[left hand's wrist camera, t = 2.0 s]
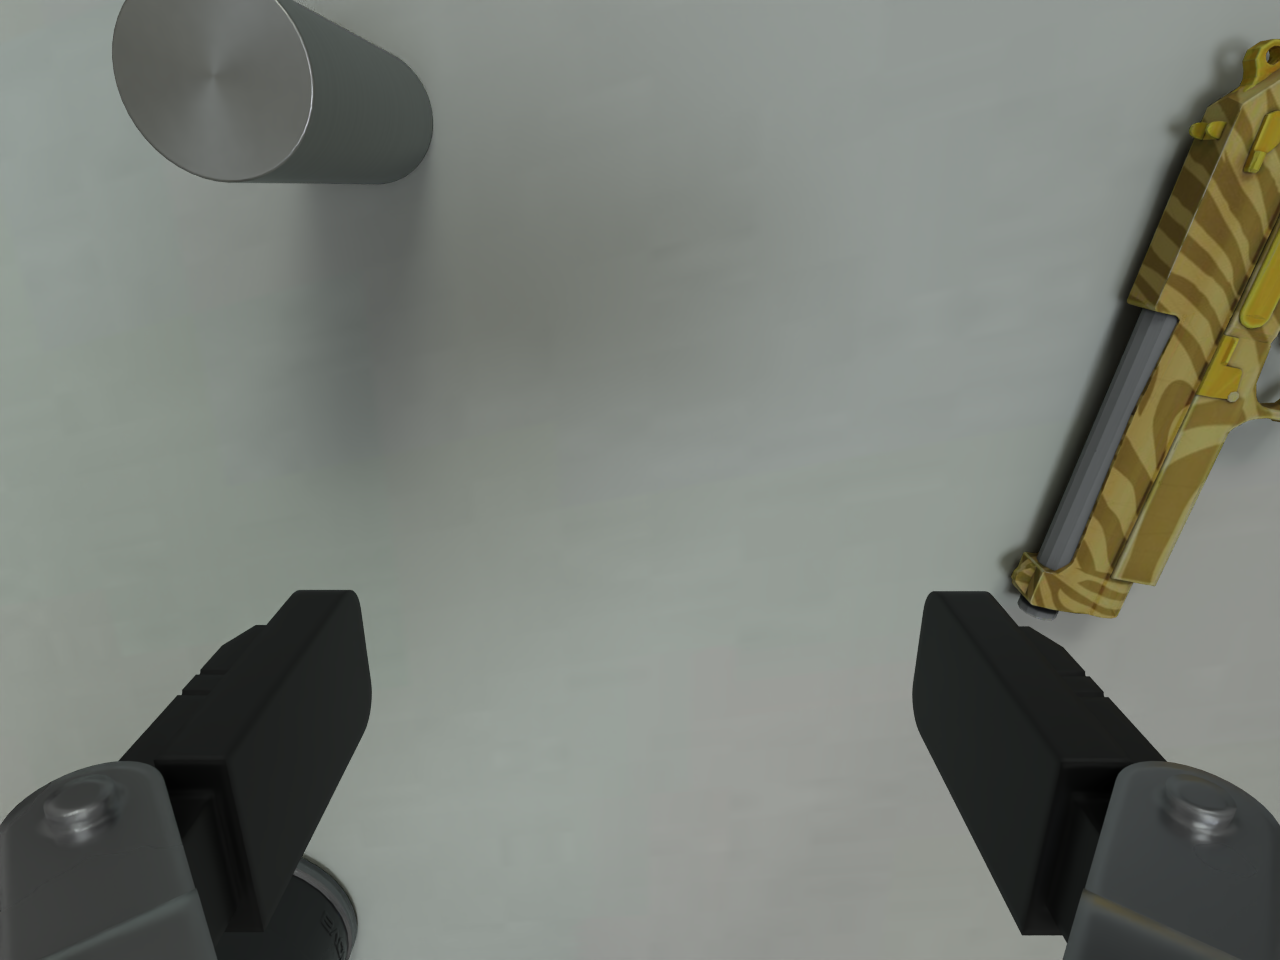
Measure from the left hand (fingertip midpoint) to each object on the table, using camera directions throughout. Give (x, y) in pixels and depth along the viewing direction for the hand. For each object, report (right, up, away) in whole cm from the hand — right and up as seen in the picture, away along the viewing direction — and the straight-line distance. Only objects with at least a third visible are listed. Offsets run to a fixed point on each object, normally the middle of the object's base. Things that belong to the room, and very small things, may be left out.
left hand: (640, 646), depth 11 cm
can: (-9, +15, +16) cm, 23 cm away
